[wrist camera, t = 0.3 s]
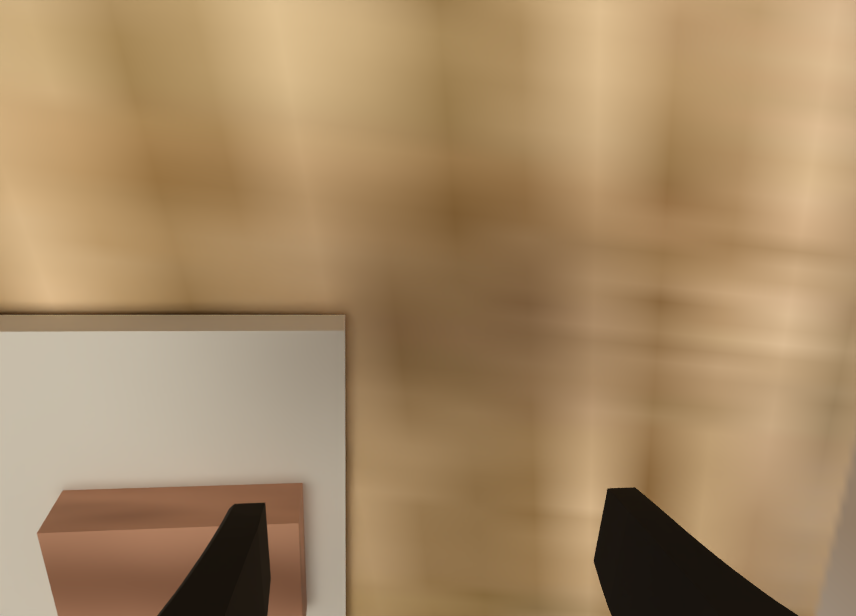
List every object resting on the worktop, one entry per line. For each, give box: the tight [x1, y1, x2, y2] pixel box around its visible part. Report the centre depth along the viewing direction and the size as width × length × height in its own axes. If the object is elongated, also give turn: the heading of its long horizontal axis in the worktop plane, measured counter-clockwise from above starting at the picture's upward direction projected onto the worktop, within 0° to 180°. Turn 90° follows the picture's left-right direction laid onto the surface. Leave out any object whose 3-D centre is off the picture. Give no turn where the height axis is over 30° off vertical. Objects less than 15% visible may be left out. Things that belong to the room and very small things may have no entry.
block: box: [37, 483, 307, 616], centre depth 23 cm, size 6×8×2 cm
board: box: [0, 315, 346, 616], centre depth 24 cm, size 18×13×1 cm
